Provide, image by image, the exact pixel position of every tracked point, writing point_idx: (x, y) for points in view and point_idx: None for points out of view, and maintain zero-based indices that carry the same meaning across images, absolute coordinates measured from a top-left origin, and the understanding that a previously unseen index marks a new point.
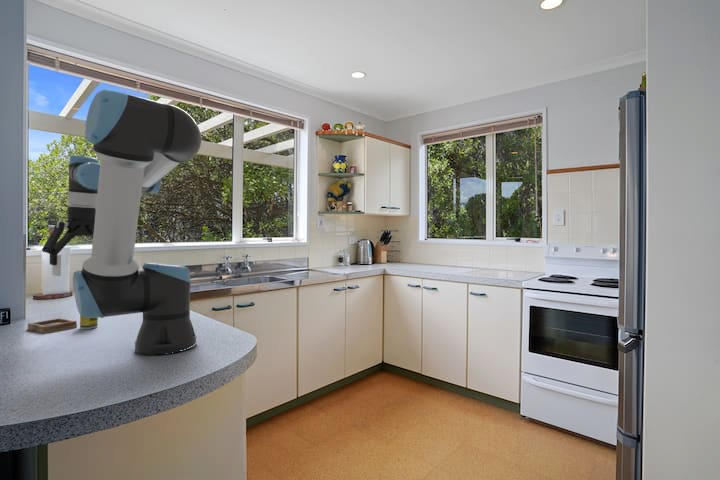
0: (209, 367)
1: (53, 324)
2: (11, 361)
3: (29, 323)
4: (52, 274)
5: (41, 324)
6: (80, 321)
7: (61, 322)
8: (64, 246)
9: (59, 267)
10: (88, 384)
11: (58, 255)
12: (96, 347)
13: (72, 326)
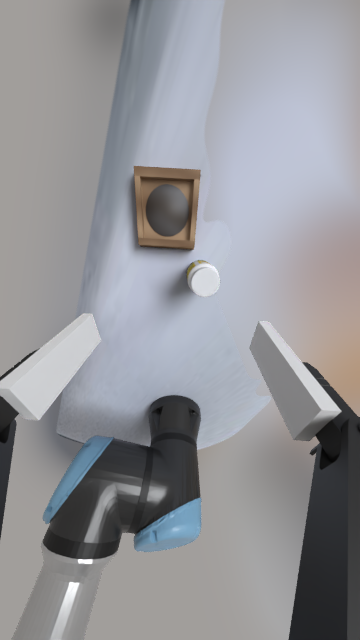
0: None
1: (170, 207)
2: None
3: (135, 171)
4: (82, 315)
5: (158, 179)
6: (187, 272)
7: (191, 197)
8: (5, 491)
9: (78, 362)
10: (98, 424)
11: (28, 416)
12: (143, 369)
13: (185, 248)
